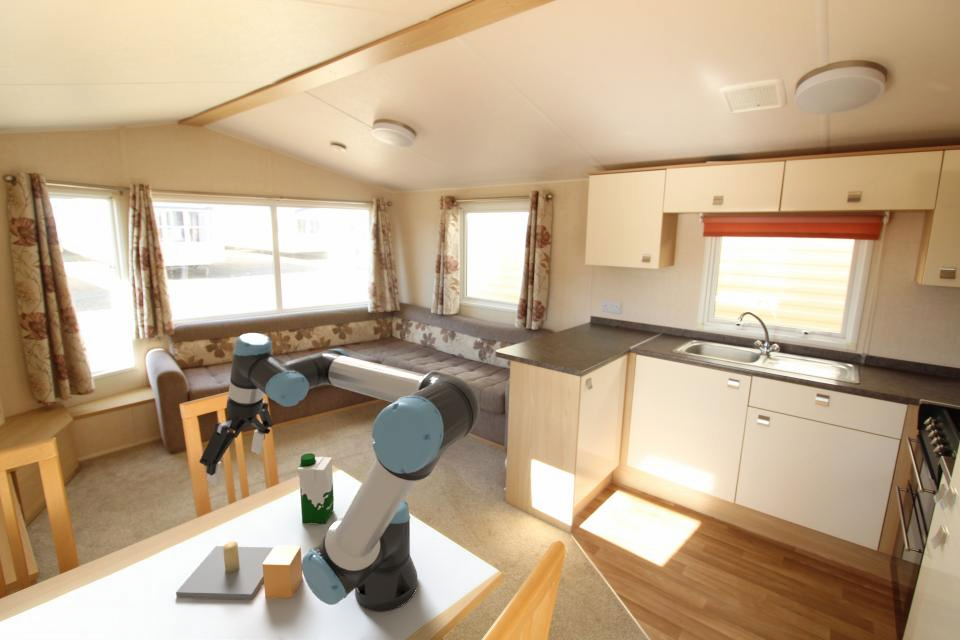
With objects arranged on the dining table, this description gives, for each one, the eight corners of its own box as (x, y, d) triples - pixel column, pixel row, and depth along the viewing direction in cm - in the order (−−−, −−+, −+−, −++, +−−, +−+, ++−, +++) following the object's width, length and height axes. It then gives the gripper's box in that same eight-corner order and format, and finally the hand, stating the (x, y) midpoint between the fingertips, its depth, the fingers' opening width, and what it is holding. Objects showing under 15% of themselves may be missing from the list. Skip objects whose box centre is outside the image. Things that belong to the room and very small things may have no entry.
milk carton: (309, 507, 142) (305, 449, 138) (337, 508, 142) (334, 450, 138) (297, 525, 133) (293, 463, 129) (328, 526, 133) (324, 464, 129)
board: (282, 552, 122) (280, 526, 120) (251, 599, 106) (249, 570, 105) (216, 551, 122) (213, 524, 120) (176, 597, 106) (172, 568, 105)
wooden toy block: (302, 577, 113) (300, 546, 111) (291, 598, 107) (289, 564, 105) (277, 577, 113) (275, 545, 111) (265, 597, 107) (262, 564, 105)
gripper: (271, 370, 117) (260, 435, 124) (185, 412, 94) (178, 489, 101) (295, 382, 116) (282, 447, 123) (213, 427, 93) (204, 504, 100)
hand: (235, 466), depth 112 cm, fingers open, 13 cm apart
